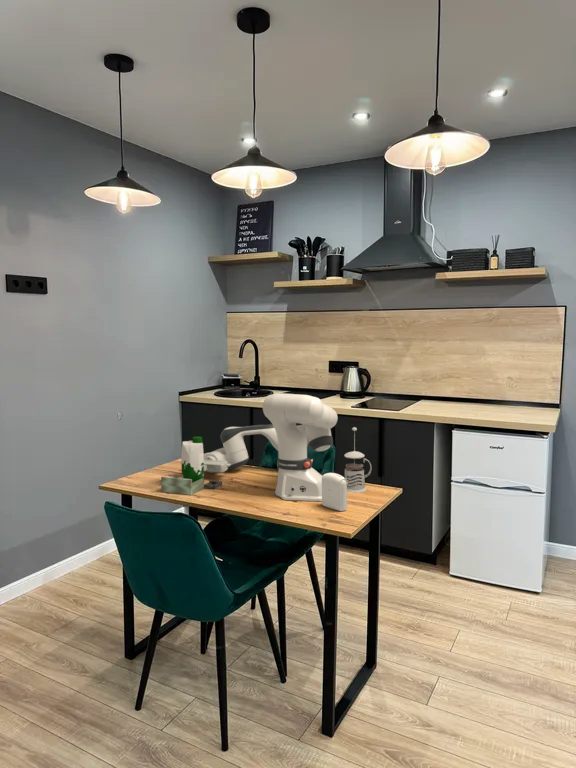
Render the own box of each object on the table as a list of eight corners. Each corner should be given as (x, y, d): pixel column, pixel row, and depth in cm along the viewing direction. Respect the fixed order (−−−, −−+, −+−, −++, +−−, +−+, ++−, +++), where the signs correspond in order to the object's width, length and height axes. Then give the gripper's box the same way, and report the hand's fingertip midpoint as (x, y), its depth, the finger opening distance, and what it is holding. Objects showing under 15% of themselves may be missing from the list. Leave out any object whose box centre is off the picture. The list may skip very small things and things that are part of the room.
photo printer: (320, 505, 190) (319, 471, 189) (328, 503, 193) (328, 470, 192) (340, 512, 182) (340, 477, 181) (349, 510, 185) (349, 475, 184)
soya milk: (204, 487, 216) (204, 438, 215) (182, 488, 214) (181, 439, 212) (203, 481, 225) (202, 435, 223) (181, 483, 222) (180, 436, 221)
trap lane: (222, 485, 219) (222, 470, 219) (201, 496, 203) (201, 481, 203) (174, 480, 227) (174, 466, 227) (151, 490, 211) (151, 476, 211)
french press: (341, 485, 216) (340, 425, 214) (369, 485, 216) (369, 425, 214) (343, 492, 206) (343, 429, 205) (373, 492, 206) (373, 429, 204)
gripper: (233, 471, 233) (218, 478, 220) (192, 467, 240) (176, 475, 227) (232, 456, 233) (217, 464, 220) (192, 453, 240) (175, 460, 227)
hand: (196, 469), depth 224 cm, fingers closed
